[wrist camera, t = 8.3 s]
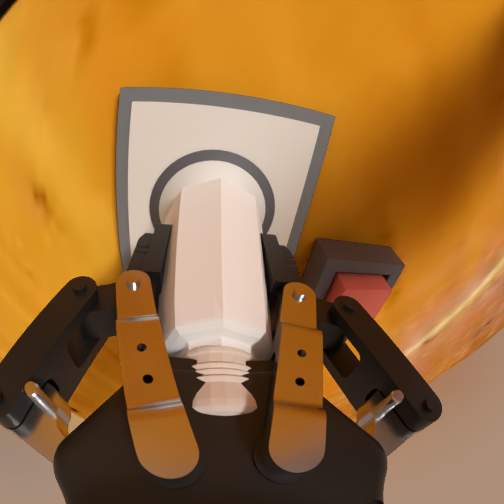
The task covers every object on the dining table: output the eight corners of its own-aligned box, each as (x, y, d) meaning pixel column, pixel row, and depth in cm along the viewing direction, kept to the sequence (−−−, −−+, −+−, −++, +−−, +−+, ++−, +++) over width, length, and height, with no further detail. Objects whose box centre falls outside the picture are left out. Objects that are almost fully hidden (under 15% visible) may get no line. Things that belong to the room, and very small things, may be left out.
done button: (381, 274, 19) (392, 290, 18) (360, 312, 22) (367, 328, 20) (336, 272, 19) (345, 289, 17) (317, 313, 21) (323, 330, 19)
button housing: (390, 246, 21) (405, 265, 19) (357, 307, 24) (367, 326, 22) (316, 237, 19) (328, 258, 17) (290, 307, 23) (296, 329, 21)
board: (331, 115, 14) (337, 117, 13) (277, 293, 22) (280, 301, 21) (123, 87, 12) (118, 88, 11) (126, 282, 19) (124, 290, 19)
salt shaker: (167, 171, 13) (93, 377, 4) (272, 183, 14) (359, 381, 5) (164, 257, 16) (137, 445, 7) (252, 265, 17) (287, 446, 8)
